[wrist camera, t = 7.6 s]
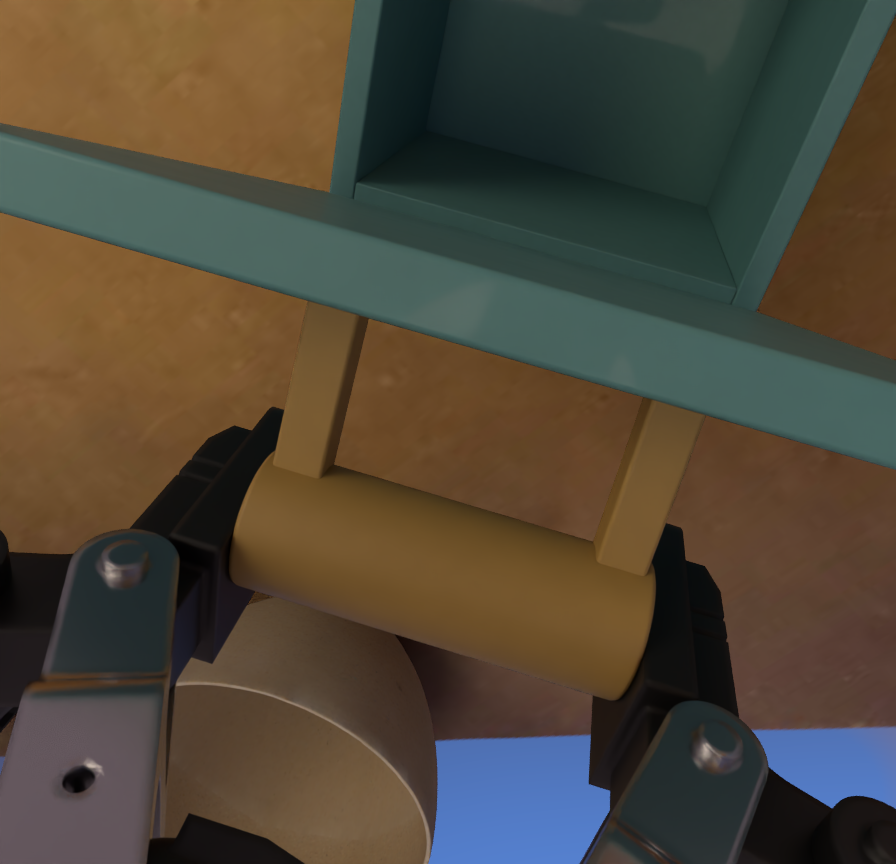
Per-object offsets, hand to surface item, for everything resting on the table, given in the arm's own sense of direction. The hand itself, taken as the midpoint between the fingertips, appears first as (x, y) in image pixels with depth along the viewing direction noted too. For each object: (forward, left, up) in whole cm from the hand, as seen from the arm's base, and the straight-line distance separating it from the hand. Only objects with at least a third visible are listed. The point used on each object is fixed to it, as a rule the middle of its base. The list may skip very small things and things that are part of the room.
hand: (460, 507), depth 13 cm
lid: (-2, +2, -4) cm, 5 cm away
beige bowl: (+17, -26, -24) cm, 39 cm away
